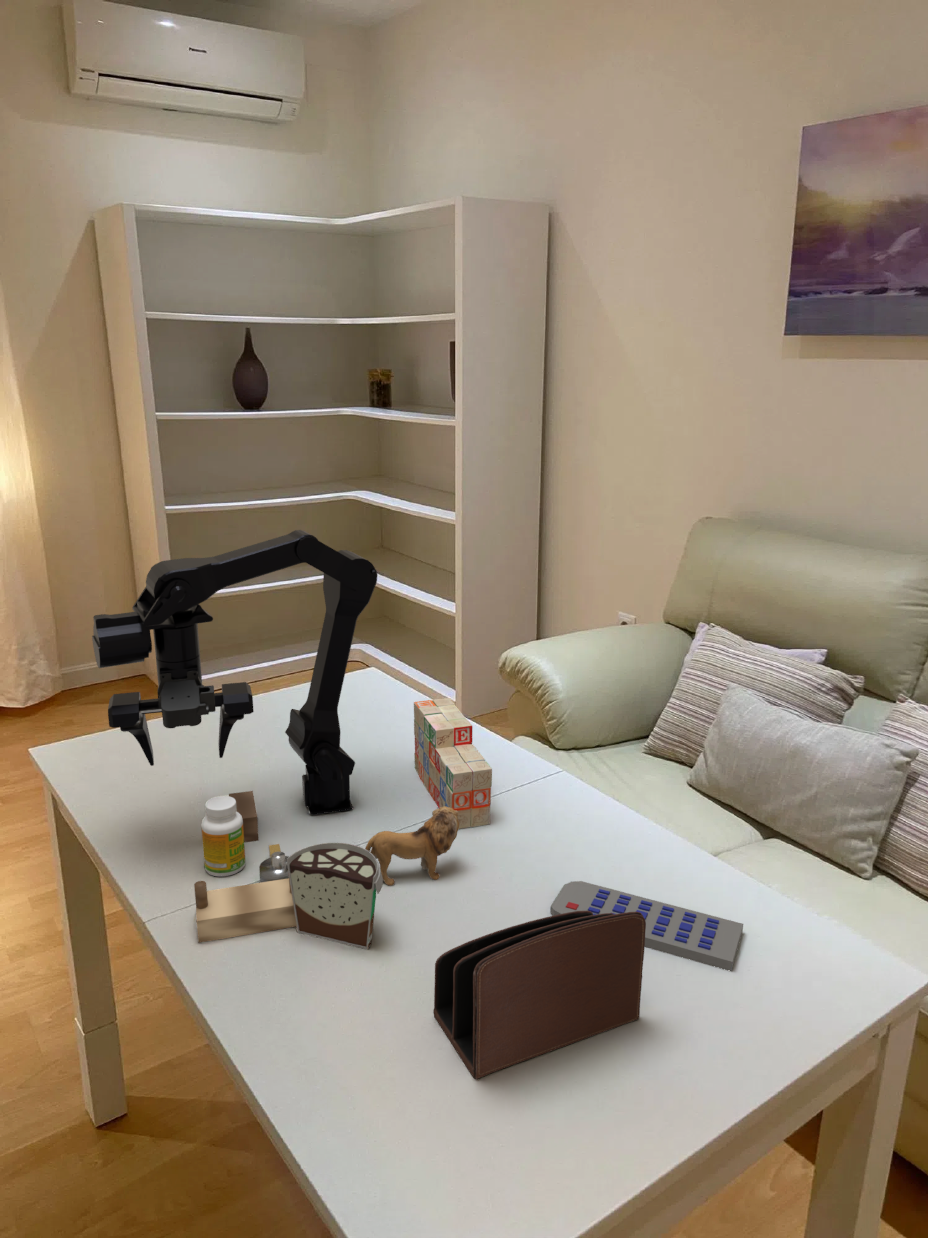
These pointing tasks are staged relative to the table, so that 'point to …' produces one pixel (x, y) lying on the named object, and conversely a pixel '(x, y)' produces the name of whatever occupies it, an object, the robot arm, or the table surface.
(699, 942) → the remote control
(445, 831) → the lion figurine
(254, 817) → the tall brown cuboid
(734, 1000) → the table surface
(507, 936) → the letter holder
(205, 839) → the supplement bottle
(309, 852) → the food container
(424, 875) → the table surface
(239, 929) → the peg stand
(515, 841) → the table surface
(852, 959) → the table surface
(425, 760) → the stack of blocks
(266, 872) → the door lever handle
